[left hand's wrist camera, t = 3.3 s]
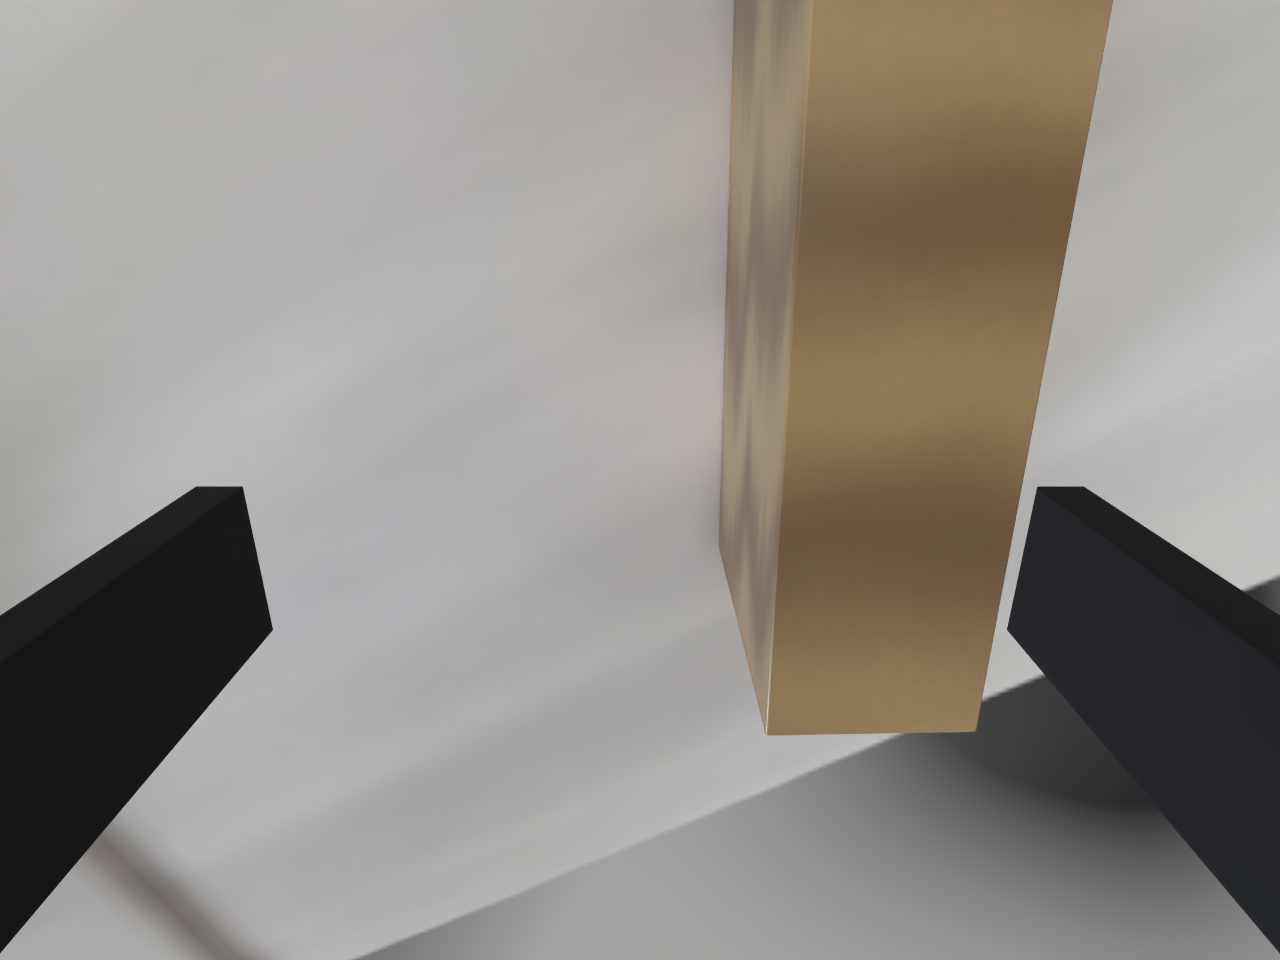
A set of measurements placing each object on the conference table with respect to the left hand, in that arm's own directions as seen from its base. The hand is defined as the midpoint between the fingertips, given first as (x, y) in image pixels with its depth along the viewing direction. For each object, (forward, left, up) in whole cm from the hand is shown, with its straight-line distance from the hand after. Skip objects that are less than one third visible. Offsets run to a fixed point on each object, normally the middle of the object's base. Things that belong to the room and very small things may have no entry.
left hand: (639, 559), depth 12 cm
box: (+5, -6, -19) cm, 20 cm away
